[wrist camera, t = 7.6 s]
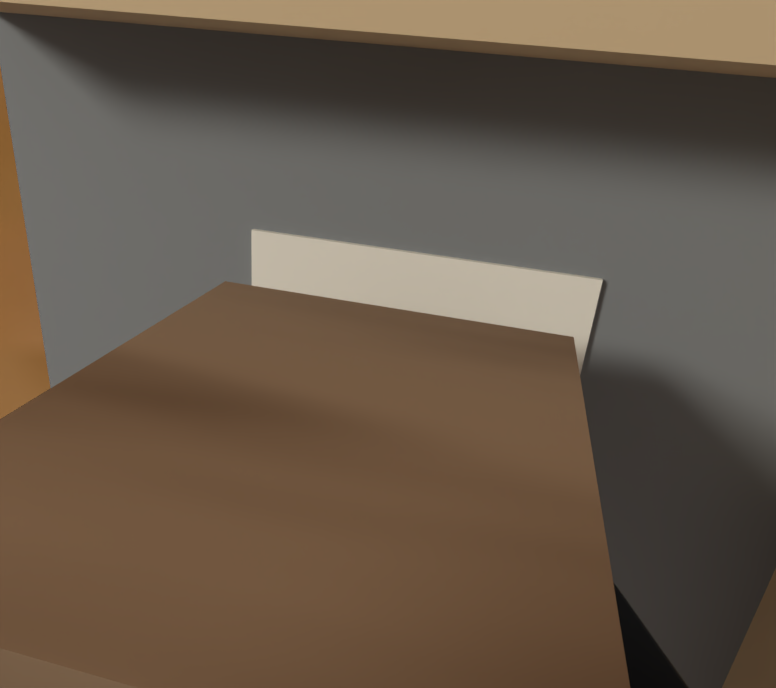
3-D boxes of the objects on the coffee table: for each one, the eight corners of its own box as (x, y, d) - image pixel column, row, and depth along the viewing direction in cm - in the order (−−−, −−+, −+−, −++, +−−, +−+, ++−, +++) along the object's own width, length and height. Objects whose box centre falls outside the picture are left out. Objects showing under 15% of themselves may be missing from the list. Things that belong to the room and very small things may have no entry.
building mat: (752, 755, 13) (815, 945, 10) (105, 587, 16) (7, 699, 13) (1157, -34, 7) (1577, -119, 4) (13, -92, 10) (-206, -169, 7)
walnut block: (510, 612, 10) (482, 1217, 5) (230, 546, 11) (-68, 995, 5) (574, 336, 8) (654, 835, 3) (225, 281, 9) (-253, 574, 3)
